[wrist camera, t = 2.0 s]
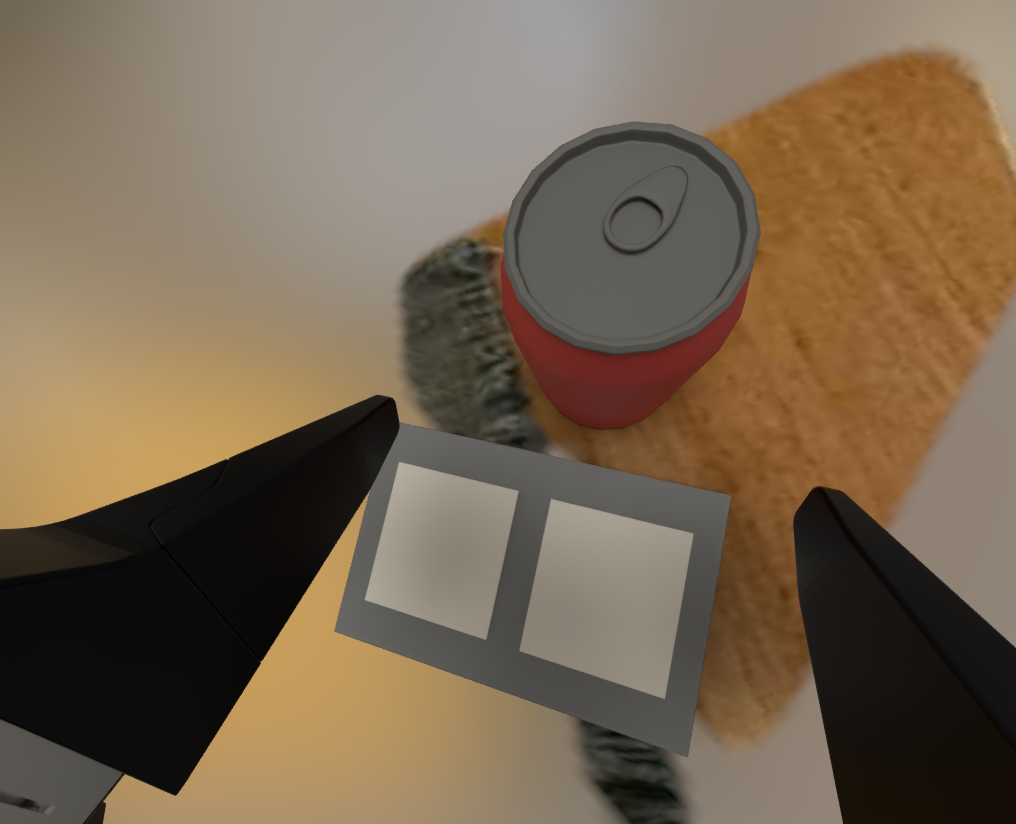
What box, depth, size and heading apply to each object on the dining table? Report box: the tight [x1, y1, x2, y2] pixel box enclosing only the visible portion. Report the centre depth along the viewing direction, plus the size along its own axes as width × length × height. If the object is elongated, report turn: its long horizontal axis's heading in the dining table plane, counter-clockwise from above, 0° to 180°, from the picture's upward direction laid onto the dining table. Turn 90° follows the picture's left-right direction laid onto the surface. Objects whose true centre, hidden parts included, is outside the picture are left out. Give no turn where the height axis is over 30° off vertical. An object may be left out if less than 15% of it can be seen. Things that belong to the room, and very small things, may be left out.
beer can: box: [501, 122, 761, 429], centre depth 15 cm, size 7×7×12 cm
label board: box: [334, 422, 731, 757], centre depth 20 cm, size 11×17×1 cm, turn 77°
